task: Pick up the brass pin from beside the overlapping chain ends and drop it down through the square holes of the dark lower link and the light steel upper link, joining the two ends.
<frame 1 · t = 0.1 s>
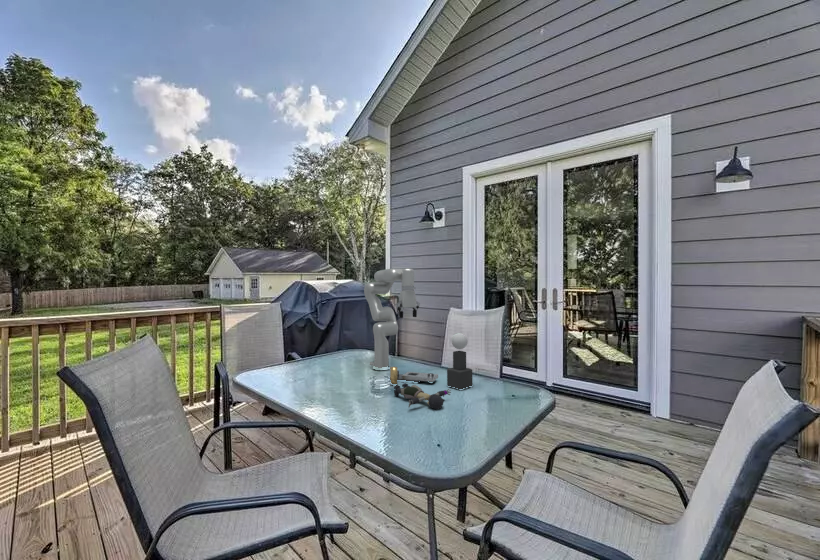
hand: (408, 317, 223), 37 cm above the table, tool pointing down, fingers open, 9 cm apart
sculpture: (459, 387, 205), on the table
pin: (393, 385, 210), on the table
toy: (419, 403, 180), on the table
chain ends: (413, 380, 218), on the table
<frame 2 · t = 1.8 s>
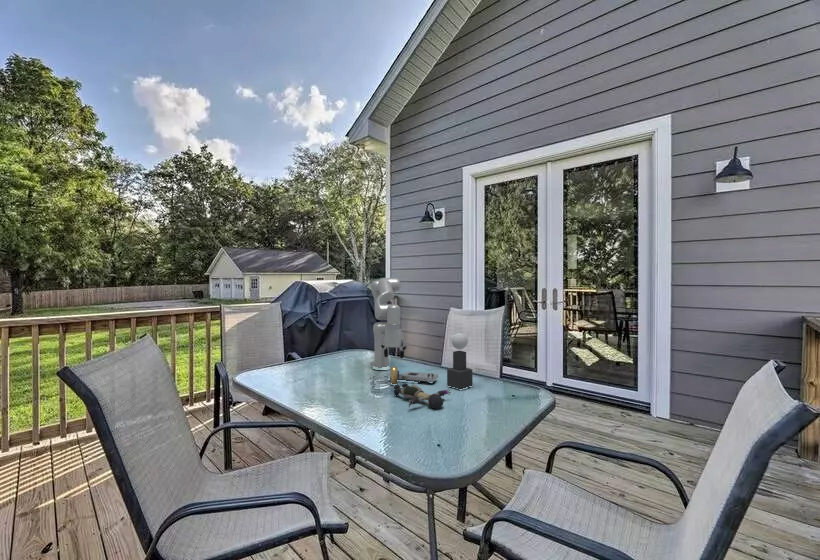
hand: (394, 357, 210), 16 cm above the table, tool pointing down, fingers open, 9 cm apart
nothing on the table moved.
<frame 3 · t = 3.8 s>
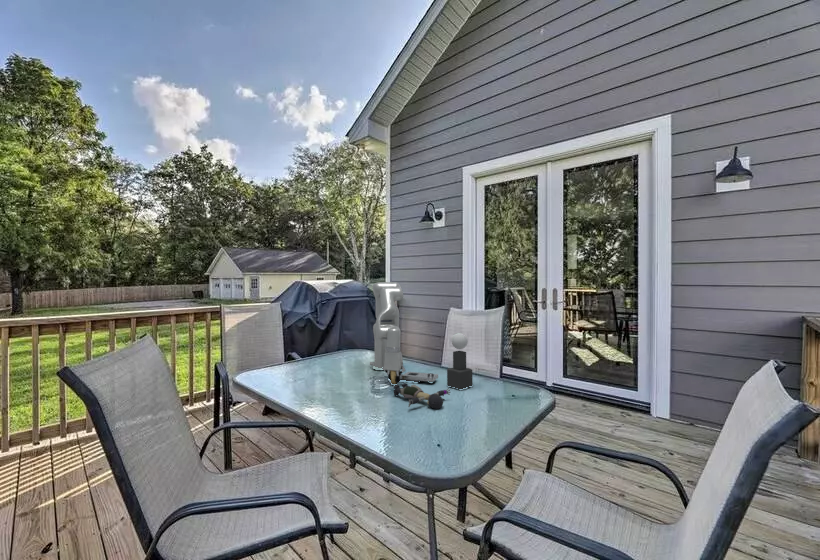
hand: (393, 381, 210), 2 cm above the table, tool pointing down, fingers closed on pin, 4 cm apart
pin: (393, 385, 210), on the table, touching gripper
everything else where it was.
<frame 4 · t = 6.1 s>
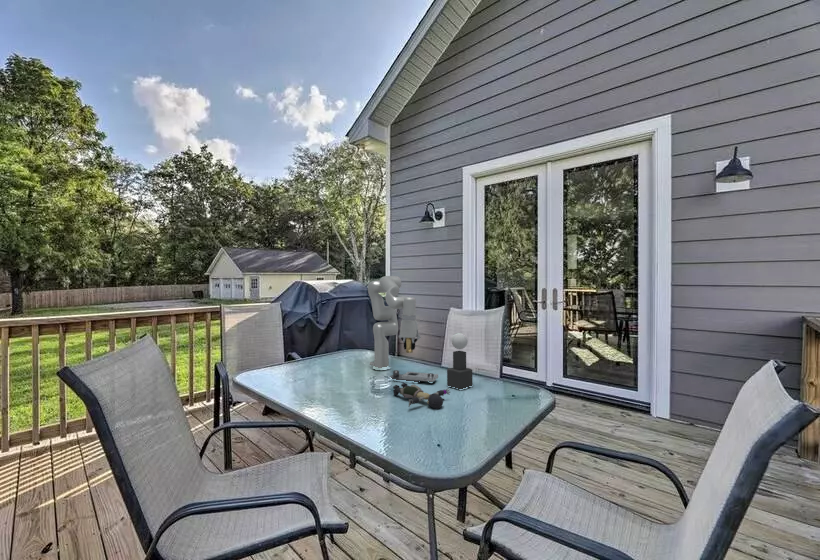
hand: (409, 349, 217), 19 cm above the table, tool pointing down, fingers closed on pin, 4 cm apart
pin: (409, 352, 217), point 17 cm above the table, touching gripper
everything else where it was.
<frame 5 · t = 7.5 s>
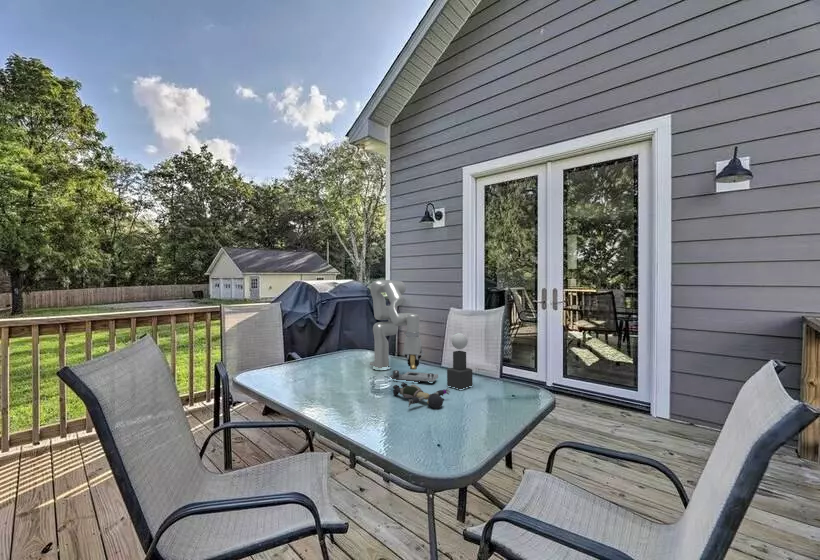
hand: (413, 365, 218), 9 cm above the table, tool pointing down, fingers closed on pin, 4 cm apart
pin: (413, 368, 218), point 7 cm above the table, touching gripper
everything else where it was.
when the fingers open (5 cm above the table, at t = 8.6 s): pin drops 3 cm, resting in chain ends.
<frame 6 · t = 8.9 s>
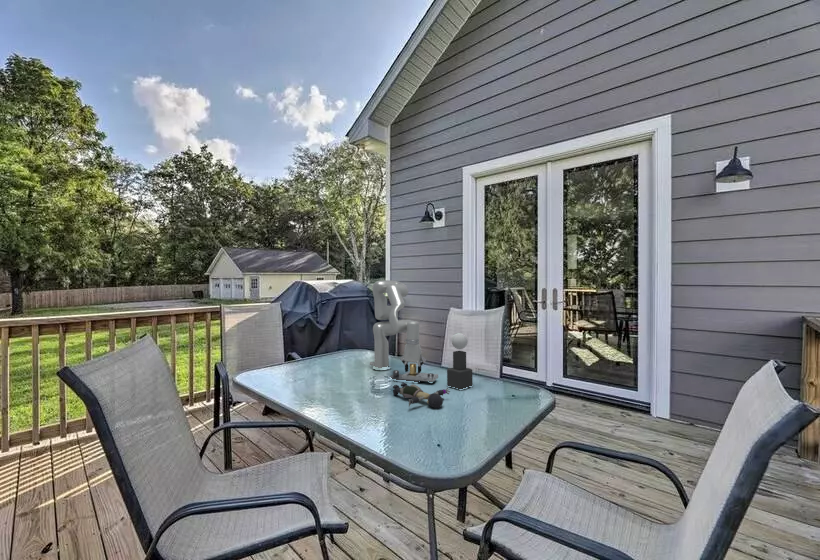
hand: (413, 371, 219), 5 cm above the table, tool pointing down, fingers open, 7 cm apart
pin: (412, 380, 219), resting in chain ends
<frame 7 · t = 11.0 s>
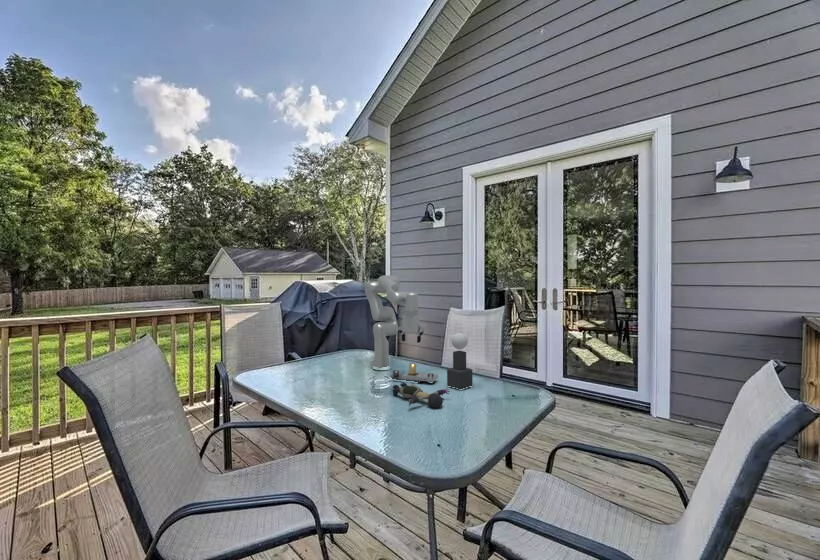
hand: (411, 341, 221), 23 cm above the table, tool pointing down, fingers open, 9 cm apart
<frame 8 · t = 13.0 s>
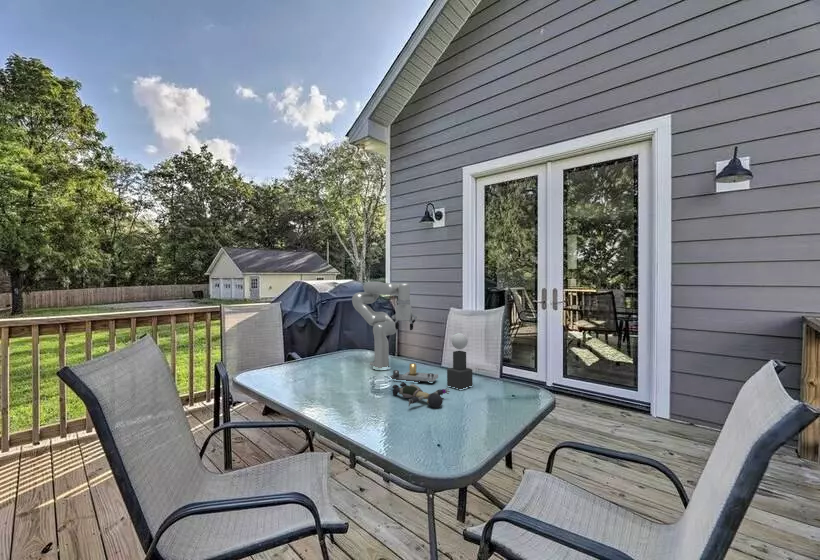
hand: (404, 329, 235), 28 cm above the table, tool pointing down, fingers open, 9 cm apart
at the end: pin 0.1 cm off-centre on the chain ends, point 0.0 cm above the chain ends's base; pin tilted 0°; the gripper is holding nothing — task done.
